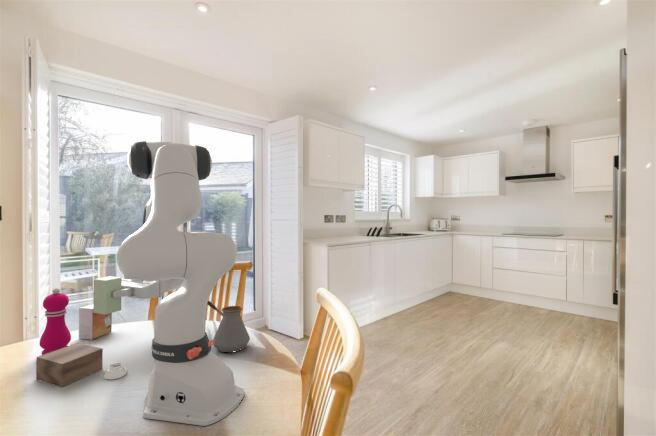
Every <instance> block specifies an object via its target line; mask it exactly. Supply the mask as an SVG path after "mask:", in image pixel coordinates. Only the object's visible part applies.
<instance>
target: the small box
mask: <svg viewBox="0 0 656 436" xmlns="http://www.w3.org/2000/svg"><path fill="white" fill-rule="evenodd" d="M112 316H113V314H112V313H109V314H106V315H104V314H99V313H93V303H92V304H89V305H85V306H82V307H78V339H79V340H80V339H81V340H94V339H97V338H99V337H102V336H104V335H107V334H110V333H112V329H113V328H112V325H113V324H112V321H113V319H112V318H113V317H112Z"/></svg>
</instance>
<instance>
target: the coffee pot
mask: <svg viewBox="0 0 656 436" xmlns="http://www.w3.org/2000/svg"><path fill="white" fill-rule="evenodd" d="M207 306H209V307H210V308H212V309H213V310H214V311H216V312H217V313H218V314H219V315H220V316H222V319H221V321H220V323H219V326H218V328H217V330H216V332H215V334H214V336H213V339H215V340H214V341H213V342H212V343H215V344H213V345H212V346H214V348H215V349H217V350H218V351H219V350H220V351H221V352H220V351H219V352H220V353H222V352H233V351H238V350H240V349H242V348H243V349H244V348H245V347H247V346H248V344H249V342H250V340H251V338H250V335H249V333H248V330H247V328H246V325H245V323H244V321H243V318H242V316H241V312H242V310H243V307H242V306H240V305H229V306H228V305H227V306H225V307H223V308H221V309H219V308H217V306H215V305H214V304H213V303H212V302H211V301H210V300H208V303H207ZM243 349H242V350H243Z"/></svg>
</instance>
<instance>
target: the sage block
mask: <svg viewBox="0 0 656 436" xmlns="http://www.w3.org/2000/svg"><path fill="white" fill-rule="evenodd" d="M122 279H123V278H122V277H121V276H113V275H109V276H103V277H98V278H94V279H93V299H92V300H93V303H92V304H93V313H99V314H104V315H106V314H109V313H116V312H120V311H122V297H116V298H114V297H111V292H112V291H115V290H121V288H122Z"/></svg>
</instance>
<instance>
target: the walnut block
mask: <svg viewBox="0 0 656 436" xmlns="http://www.w3.org/2000/svg"><path fill="white" fill-rule="evenodd" d="M103 350H104V348H102V347H97V346H94V345H91V344H90V345H89V344H84V343H82V342H81V343H80V342H76V343H74V344H73V343H72V344H70V345H67V347H64V348H61V349H58V350H55V351H53V352H50V353H47V354H44V355H42V354H41V355H38V356H36V358H35V359H36V367H35V369H36V370H35V371H36V372H35V373H36V374H35V379H36V380H37V381H41V382H44V383H47V384H51V385H53V386H56V387H60V388H64V387H67V386H69V385H71V384H73V383H75V382H77V380H78V381H79V380H82V379H84V378H86V377H89V376H91V375H93V374H95V373H99V372H100V371H102V370H103V364H104V363H103V360H104V359H103V354H104V353H103Z"/></svg>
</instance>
